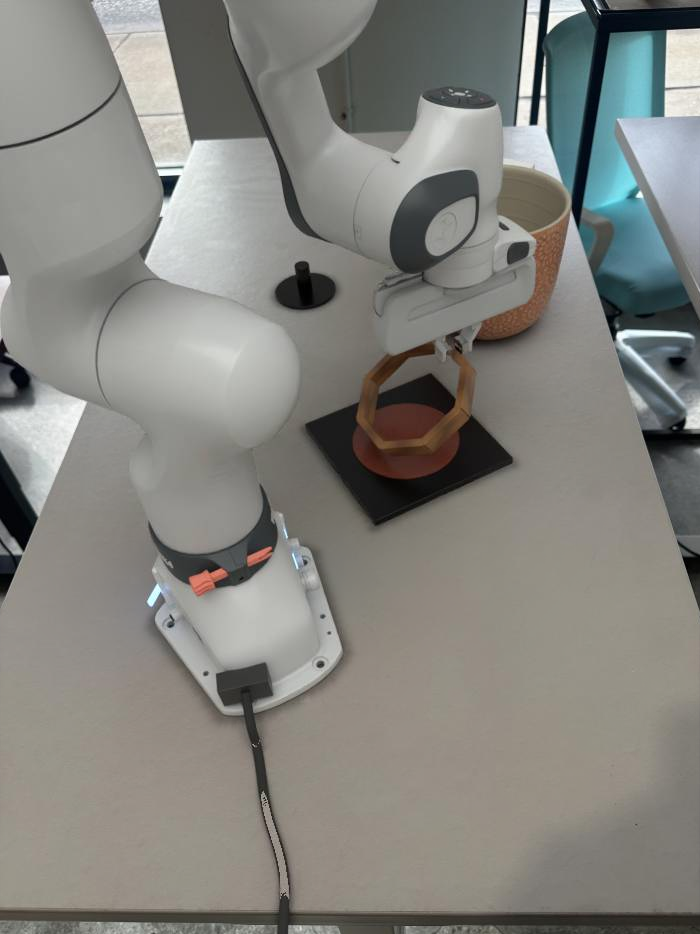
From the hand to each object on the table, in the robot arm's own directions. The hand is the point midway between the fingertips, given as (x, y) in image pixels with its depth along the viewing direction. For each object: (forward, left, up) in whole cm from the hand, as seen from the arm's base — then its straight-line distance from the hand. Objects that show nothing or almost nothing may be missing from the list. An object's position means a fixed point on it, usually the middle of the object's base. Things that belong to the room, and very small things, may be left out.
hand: (453, 354), depth 89 cm
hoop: (0, +5, -5) cm, 7 cm away
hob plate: (0, +7, -12) cm, 14 cm away
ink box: (+38, -35, -12) cm, 53 cm away
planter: (+18, -18, -12) cm, 28 cm away
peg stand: (+40, +3, -12) cm, 42 cm away
